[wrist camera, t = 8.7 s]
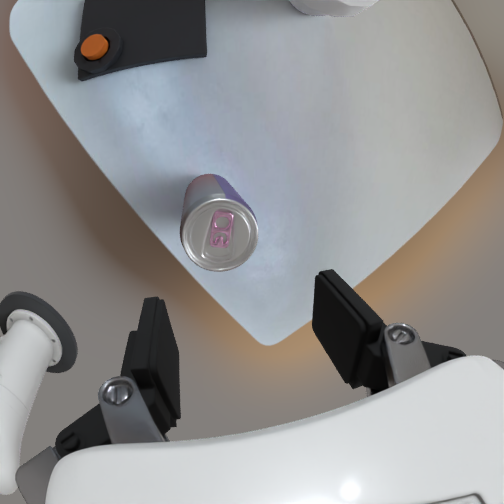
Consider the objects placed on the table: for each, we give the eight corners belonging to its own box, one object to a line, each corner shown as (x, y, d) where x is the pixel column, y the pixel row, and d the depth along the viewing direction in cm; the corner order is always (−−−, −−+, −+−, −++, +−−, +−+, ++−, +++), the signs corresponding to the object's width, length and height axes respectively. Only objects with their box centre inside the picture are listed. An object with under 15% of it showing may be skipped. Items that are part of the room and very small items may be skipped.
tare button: (85, 63, 21) (80, 59, 19) (86, 42, 20) (81, 38, 18) (108, 56, 21) (104, 52, 20) (109, 35, 20) (105, 30, 18)
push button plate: (82, 81, 23) (73, 77, 21) (88, -1, 18) (82, -9, 15) (206, 57, 26) (207, 49, 23) (203, -23, 20) (205, -34, 18)
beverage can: (236, 176, 33) (268, 202, 19) (228, 222, 35) (253, 276, 21) (188, 170, 31) (184, 191, 18) (182, 217, 33) (176, 271, 20)
